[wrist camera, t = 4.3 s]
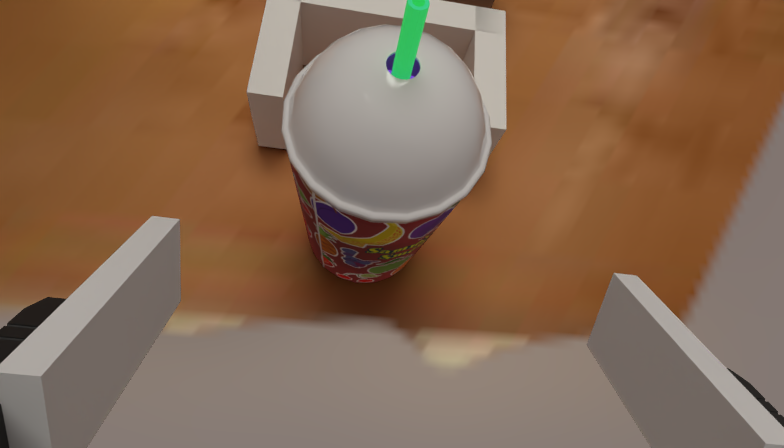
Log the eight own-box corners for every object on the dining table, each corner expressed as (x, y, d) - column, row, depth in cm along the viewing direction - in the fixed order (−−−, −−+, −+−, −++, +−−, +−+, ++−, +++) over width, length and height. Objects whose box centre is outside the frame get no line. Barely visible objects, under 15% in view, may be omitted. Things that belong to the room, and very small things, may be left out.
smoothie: (377, 328, 31) (467, 192, 12) (268, 249, 32) (198, 10, 13) (449, 225, 34) (606, -7, 15) (348, 156, 35) (382, -144, 16)
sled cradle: (476, 174, 35) (506, 129, 30) (258, 145, 34) (246, 92, 28) (478, 69, 39) (505, 10, 33) (279, 38, 37) (273, -29, 32)
